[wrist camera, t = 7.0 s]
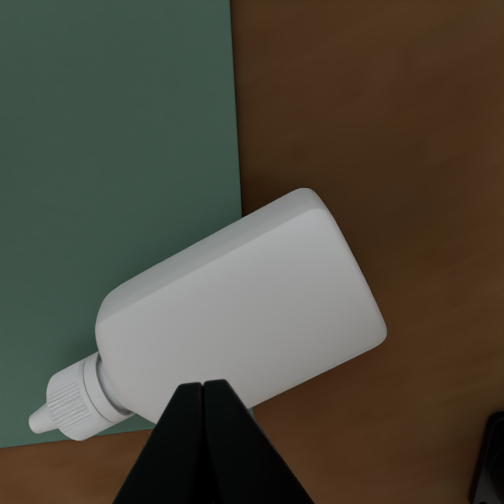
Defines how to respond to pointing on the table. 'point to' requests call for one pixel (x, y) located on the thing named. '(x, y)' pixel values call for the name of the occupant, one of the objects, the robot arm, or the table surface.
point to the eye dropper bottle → (223, 320)
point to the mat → (102, 171)
